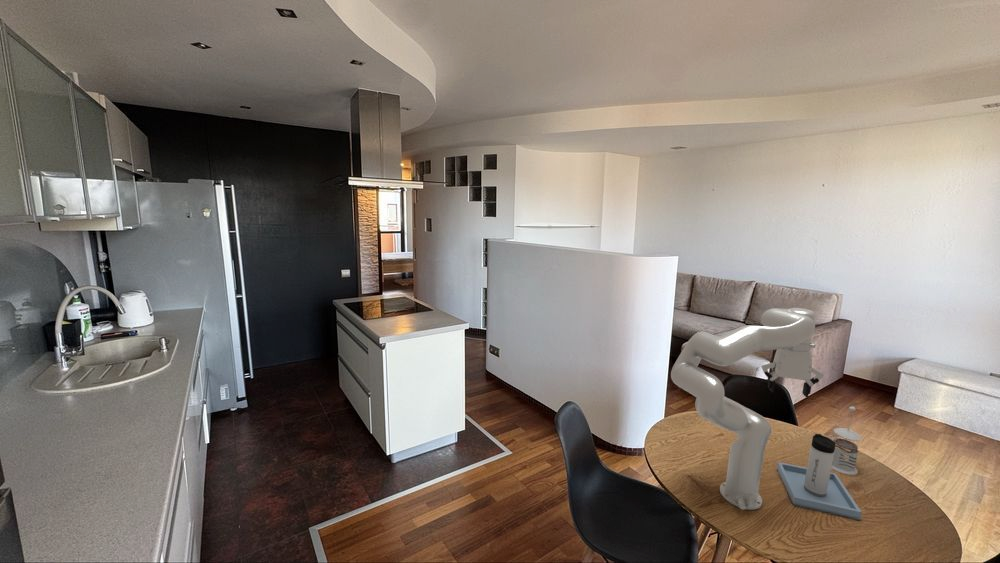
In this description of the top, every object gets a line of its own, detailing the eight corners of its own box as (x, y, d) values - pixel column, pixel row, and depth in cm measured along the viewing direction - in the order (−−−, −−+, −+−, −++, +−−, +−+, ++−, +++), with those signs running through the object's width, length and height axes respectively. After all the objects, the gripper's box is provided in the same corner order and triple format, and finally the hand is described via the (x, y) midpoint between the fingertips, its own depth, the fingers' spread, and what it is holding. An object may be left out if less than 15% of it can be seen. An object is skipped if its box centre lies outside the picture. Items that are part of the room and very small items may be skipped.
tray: (860, 520, 128) (861, 512, 128) (793, 505, 134) (794, 497, 134) (834, 480, 146) (835, 473, 146) (776, 468, 153) (777, 461, 152)
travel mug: (817, 484, 143) (826, 434, 139) (830, 497, 137) (840, 445, 133) (799, 483, 144) (807, 432, 140) (811, 496, 137) (820, 444, 133)
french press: (864, 476, 149) (877, 415, 144) (828, 472, 151) (840, 411, 146) (847, 460, 158) (859, 401, 154) (814, 456, 161) (824, 398, 156)
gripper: (822, 345, 133) (814, 392, 136) (762, 338, 139) (756, 384, 142) (832, 352, 126) (823, 402, 130) (768, 345, 132) (761, 393, 136)
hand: (788, 392), depth 136 cm, fingers open, 9 cm apart
